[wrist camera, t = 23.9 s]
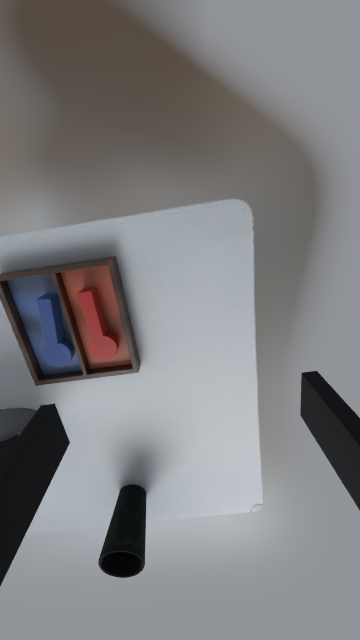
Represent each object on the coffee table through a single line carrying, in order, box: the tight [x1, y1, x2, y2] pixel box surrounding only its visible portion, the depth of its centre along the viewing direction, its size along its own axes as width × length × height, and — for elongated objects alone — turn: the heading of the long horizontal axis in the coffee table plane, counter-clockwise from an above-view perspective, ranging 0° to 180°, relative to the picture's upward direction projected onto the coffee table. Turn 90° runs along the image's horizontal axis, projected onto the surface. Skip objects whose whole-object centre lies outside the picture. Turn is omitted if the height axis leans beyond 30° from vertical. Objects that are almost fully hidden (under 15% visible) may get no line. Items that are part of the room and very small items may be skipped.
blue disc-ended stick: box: [36, 294, 75, 367], centre depth 39 cm, size 11×4×3 cm, turn 179°
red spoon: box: [77, 287, 119, 361], centre depth 39 cm, size 11×4×3 cm, turn 8°
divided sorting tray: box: [0, 257, 140, 385], centre depth 40 cm, size 18×17×2 cm
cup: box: [99, 485, 146, 578], centre depth 49 cm, size 8×8×12 cm
